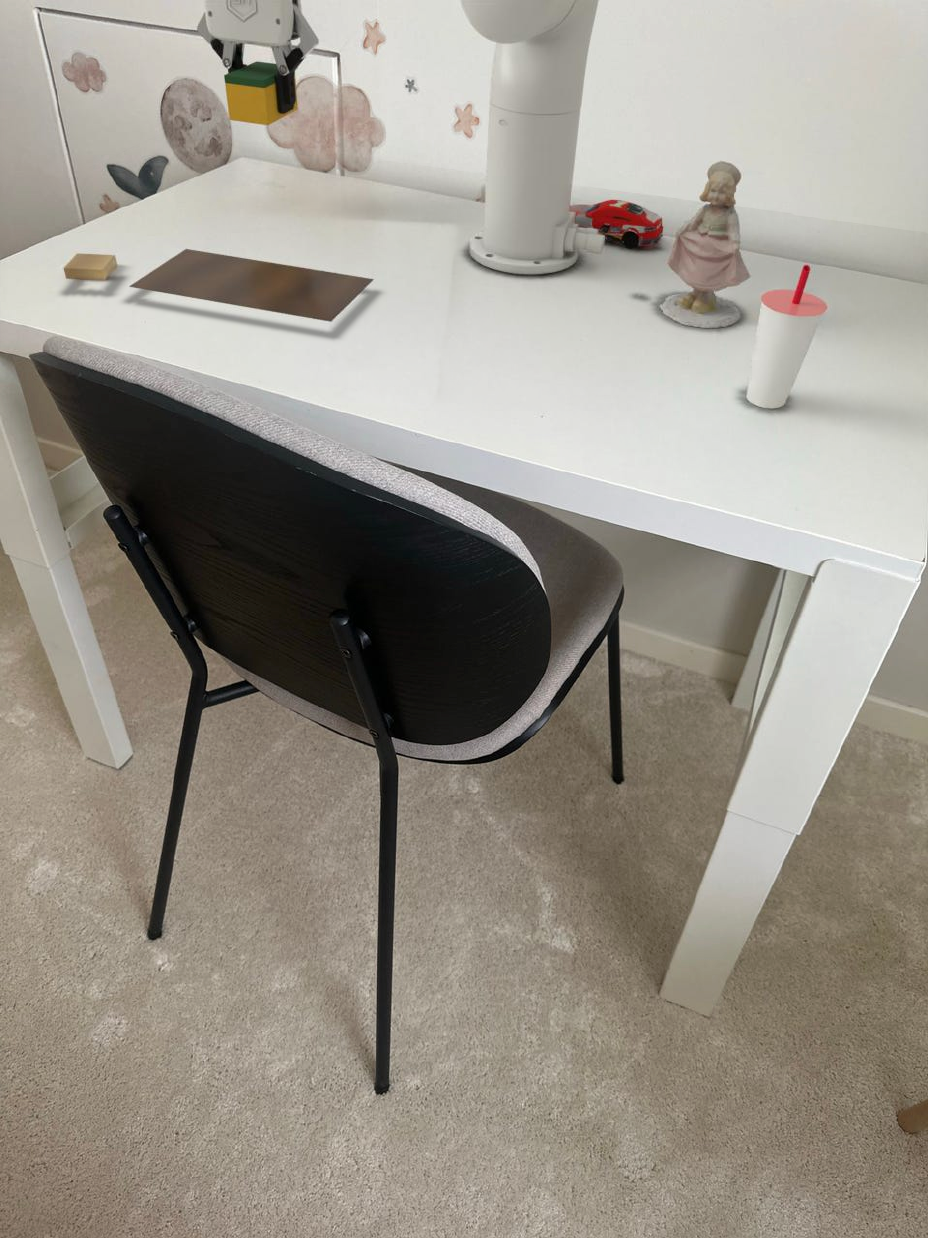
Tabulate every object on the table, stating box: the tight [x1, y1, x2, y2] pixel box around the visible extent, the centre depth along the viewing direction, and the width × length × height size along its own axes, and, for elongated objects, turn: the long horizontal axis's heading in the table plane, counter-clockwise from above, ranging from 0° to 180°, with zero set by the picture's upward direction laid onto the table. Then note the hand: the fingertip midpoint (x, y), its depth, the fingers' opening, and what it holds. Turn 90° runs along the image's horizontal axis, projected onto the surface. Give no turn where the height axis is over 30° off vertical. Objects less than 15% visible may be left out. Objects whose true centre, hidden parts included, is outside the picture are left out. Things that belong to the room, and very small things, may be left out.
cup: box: [746, 264, 828, 410], centre depth 76 cm, size 5×5×12 cm
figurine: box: [638, 160, 751, 329], centre depth 90 cm, size 11×10×15 cm
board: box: [129, 248, 374, 322], centre depth 92 cm, size 22×11×2 cm, turn 73°
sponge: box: [223, 61, 298, 126], centre depth 105 cm, size 5×8×5 cm, turn 163°
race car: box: [569, 199, 664, 249], centre depth 107 cm, size 13×5×4 cm, turn 65°
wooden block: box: [63, 252, 118, 281], centre depth 92 cm, size 4×4×2 cm
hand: (264, 106), depth 106 cm, fingers closed on sponge, 5 cm apart
